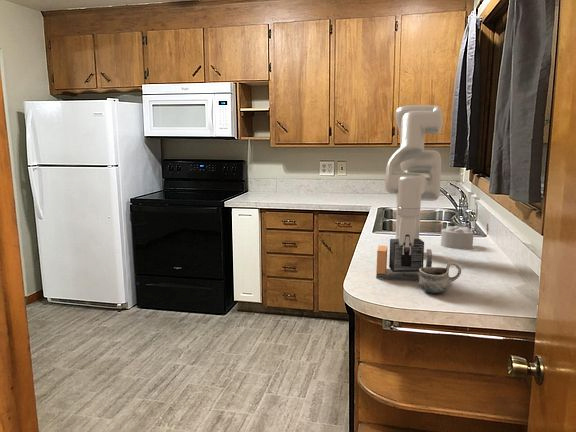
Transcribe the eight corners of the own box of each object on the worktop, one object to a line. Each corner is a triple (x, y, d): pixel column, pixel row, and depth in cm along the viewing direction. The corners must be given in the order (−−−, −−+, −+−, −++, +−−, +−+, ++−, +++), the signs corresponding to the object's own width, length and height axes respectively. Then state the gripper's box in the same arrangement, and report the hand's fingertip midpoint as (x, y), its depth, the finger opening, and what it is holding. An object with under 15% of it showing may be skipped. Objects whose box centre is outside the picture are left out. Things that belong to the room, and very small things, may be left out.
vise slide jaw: (377, 267, 172) (378, 245, 170) (386, 267, 171) (387, 245, 169) (376, 273, 164) (377, 250, 163) (385, 274, 163) (386, 251, 162)
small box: (418, 266, 169) (419, 237, 167) (423, 272, 162) (425, 242, 160) (388, 266, 169) (389, 237, 167) (392, 272, 162) (394, 242, 160)
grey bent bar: (377, 272, 172) (378, 246, 170) (429, 275, 168) (431, 249, 166) (376, 278, 164) (377, 251, 163) (430, 282, 160) (432, 255, 158)
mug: (415, 286, 156) (416, 256, 154) (454, 287, 155) (456, 257, 154) (421, 296, 147) (423, 264, 145) (463, 297, 146) (465, 265, 144)
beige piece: (473, 249, 206) (474, 230, 205) (441, 248, 209) (442, 228, 208) (470, 244, 216) (471, 225, 215) (439, 242, 219) (441, 224, 217)
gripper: (398, 208, 171) (395, 256, 174) (396, 216, 155) (394, 269, 158) (419, 208, 169) (417, 257, 172) (420, 217, 153) (417, 270, 156)
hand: (406, 262), depth 165 cm, fingers closed on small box, 7 cm apart
